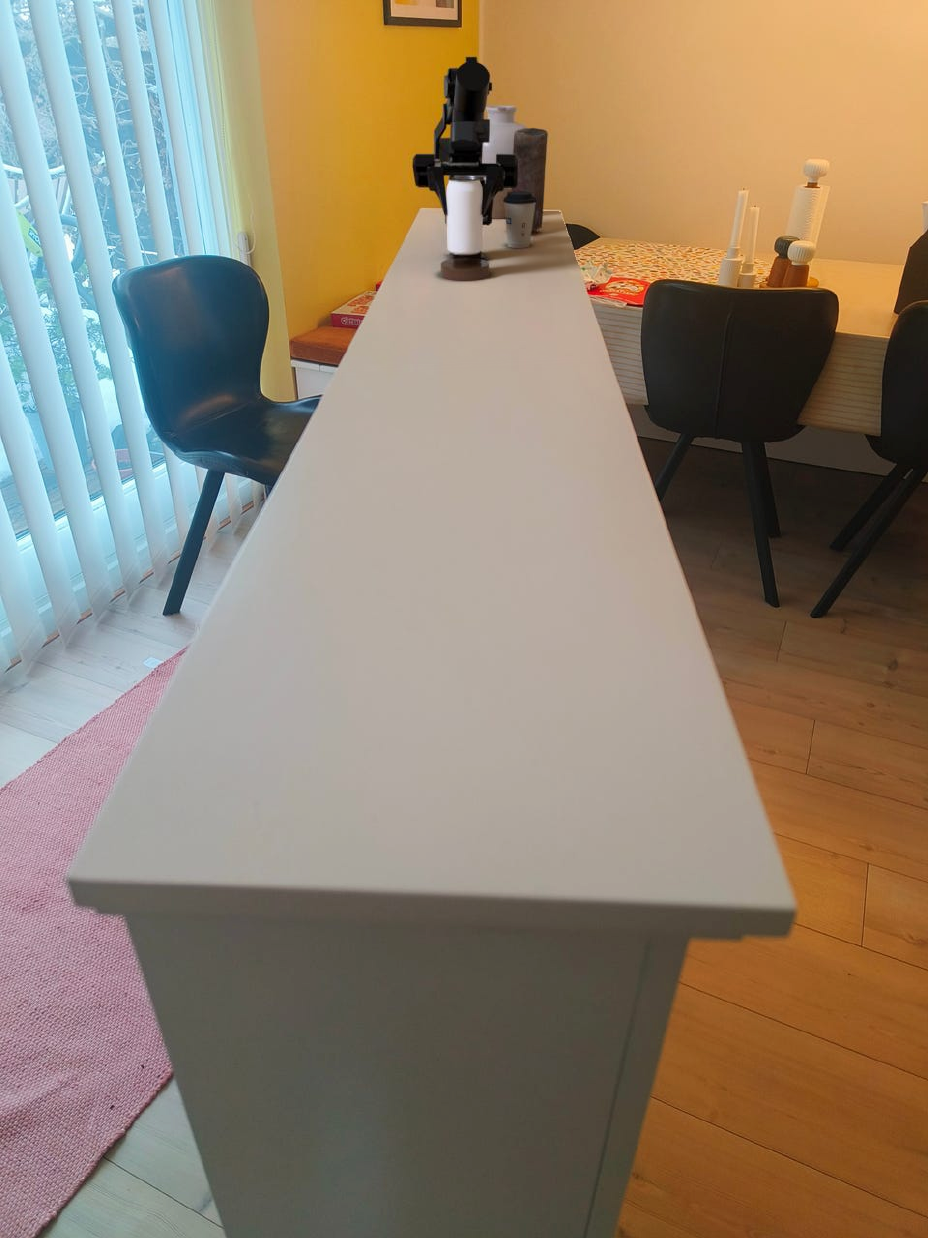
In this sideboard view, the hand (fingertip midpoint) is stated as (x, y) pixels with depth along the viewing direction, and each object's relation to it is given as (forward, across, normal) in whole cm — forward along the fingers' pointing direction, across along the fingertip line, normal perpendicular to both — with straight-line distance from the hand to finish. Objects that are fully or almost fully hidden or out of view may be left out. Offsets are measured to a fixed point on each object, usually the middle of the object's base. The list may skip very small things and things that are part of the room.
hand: (463, 213), depth 145 cm
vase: (-36, +4, +53) cm, 64 cm away
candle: (-21, +11, +38) cm, 45 cm away
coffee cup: (-11, +10, +27) cm, 31 cm away
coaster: (+7, 0, +8) cm, 11 cm away
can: (+4, 0, +6) cm, 7 cm away
